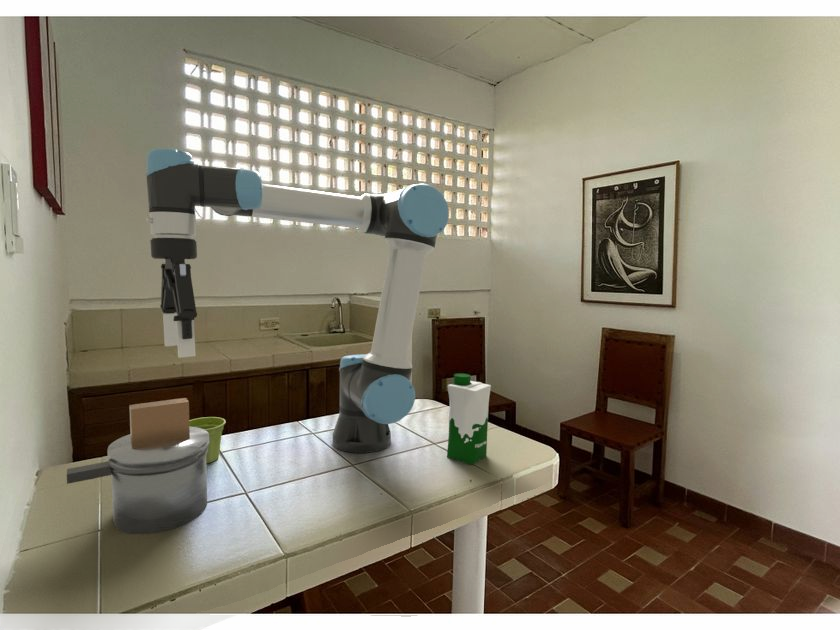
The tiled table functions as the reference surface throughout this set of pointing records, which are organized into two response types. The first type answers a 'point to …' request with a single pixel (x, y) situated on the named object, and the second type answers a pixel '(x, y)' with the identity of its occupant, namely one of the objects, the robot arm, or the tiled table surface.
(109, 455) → the lid
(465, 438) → the milk carton
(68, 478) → the grey saucepan
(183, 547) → the tiled table surface
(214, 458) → the plant pot
